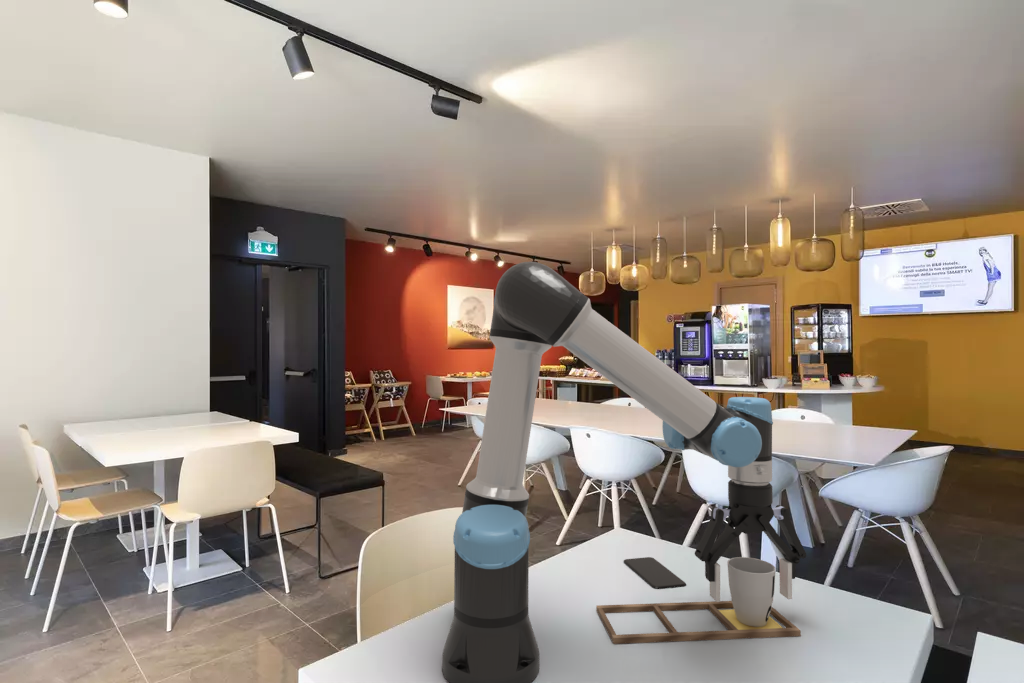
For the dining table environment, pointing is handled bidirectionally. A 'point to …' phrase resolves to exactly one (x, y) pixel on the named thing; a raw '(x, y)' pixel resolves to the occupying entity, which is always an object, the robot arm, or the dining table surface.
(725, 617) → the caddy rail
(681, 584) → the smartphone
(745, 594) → the cup
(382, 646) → the dining table surface
